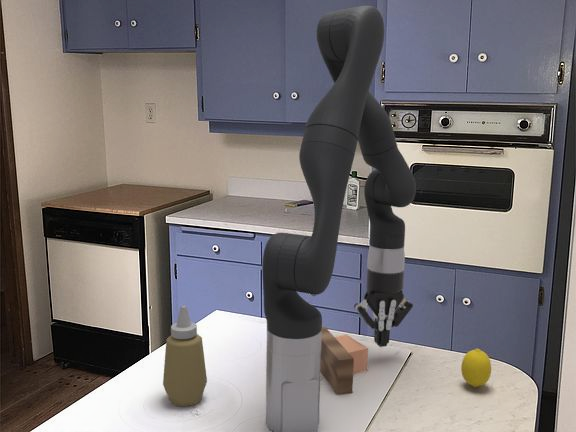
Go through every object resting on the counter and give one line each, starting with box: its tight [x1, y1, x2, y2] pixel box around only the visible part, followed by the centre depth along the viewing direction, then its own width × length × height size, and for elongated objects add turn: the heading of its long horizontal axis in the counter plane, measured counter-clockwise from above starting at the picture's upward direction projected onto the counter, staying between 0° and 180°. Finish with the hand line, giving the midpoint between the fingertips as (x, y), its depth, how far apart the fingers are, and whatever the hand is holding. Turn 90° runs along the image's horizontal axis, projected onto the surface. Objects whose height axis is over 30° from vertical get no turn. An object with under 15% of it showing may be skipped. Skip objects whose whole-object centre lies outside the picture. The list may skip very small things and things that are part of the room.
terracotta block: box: [334, 334, 369, 375], centre depth 127 cm, size 8×5×5 cm, turn 29°
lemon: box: [460, 348, 492, 388], centre depth 118 cm, size 6×6×8 cm
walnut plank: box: [320, 326, 354, 395], centre depth 122 cm, size 16×3×7 cm, turn 16°
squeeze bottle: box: [162, 305, 208, 407], centre depth 111 cm, size 8×8×18 cm
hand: (381, 345), depth 129 cm, fingers closed
